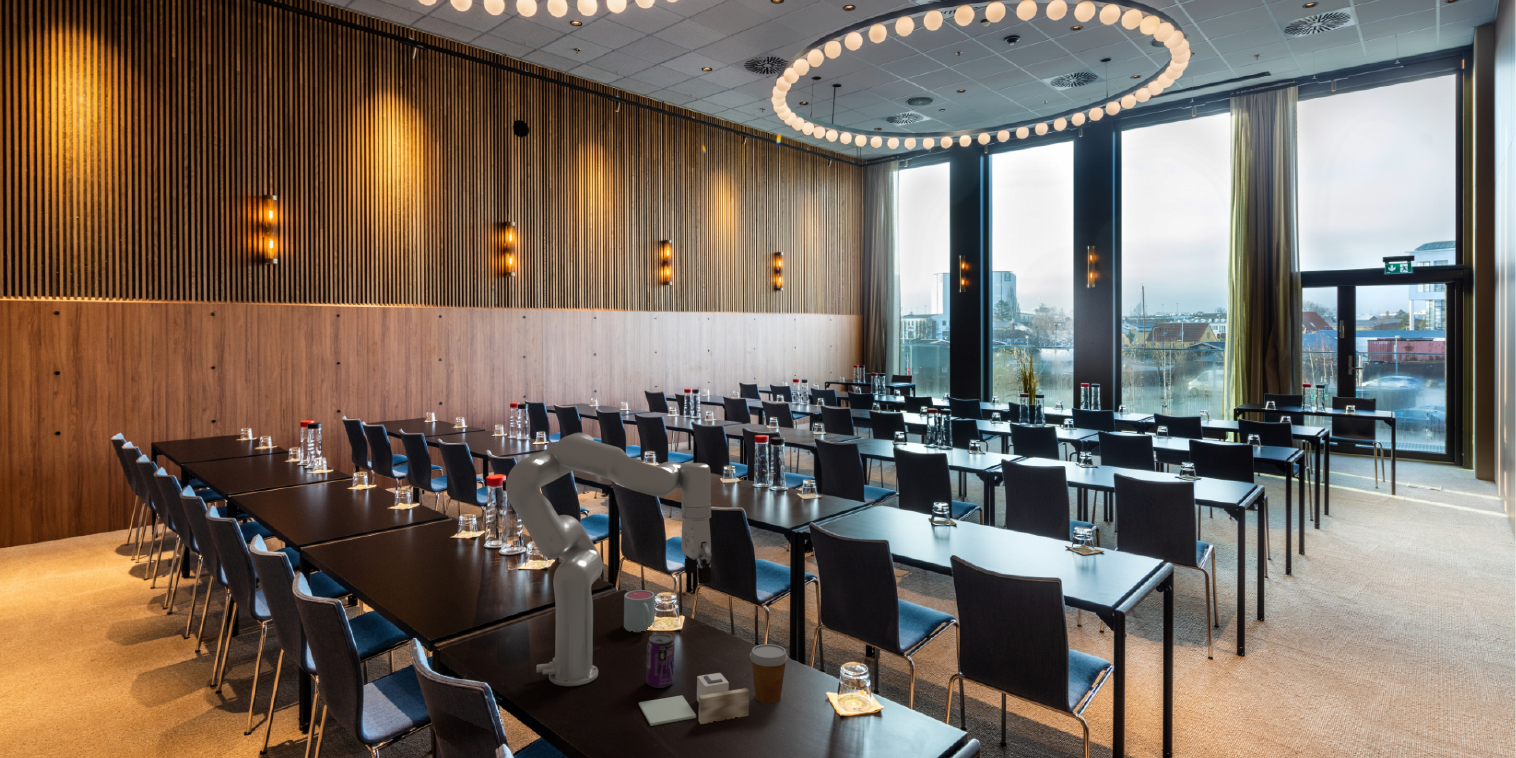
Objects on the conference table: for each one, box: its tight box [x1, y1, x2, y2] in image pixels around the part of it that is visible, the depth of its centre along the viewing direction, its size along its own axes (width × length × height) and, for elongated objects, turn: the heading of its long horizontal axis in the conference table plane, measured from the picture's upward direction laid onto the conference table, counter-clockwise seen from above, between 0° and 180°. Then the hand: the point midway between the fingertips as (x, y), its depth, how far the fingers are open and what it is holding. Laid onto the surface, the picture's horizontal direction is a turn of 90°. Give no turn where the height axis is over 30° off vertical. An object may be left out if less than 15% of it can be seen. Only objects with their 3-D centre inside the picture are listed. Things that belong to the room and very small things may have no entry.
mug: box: [623, 589, 656, 633], centre depth 235 cm, size 14×9×10 cm
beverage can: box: [645, 633, 675, 689], centre depth 198 cm, size 7×7×12 cm
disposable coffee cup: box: [749, 643, 789, 704], centre depth 191 cm, size 10×10×12 cm
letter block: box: [696, 672, 730, 703], centre depth 187 cm, size 6×6×6 cm
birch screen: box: [698, 687, 750, 725], centre depth 180 cm, size 12×2×6 cm, turn 113°
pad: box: [638, 695, 697, 726], centre depth 183 cm, size 11×11×1 cm
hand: (697, 577), depth 197 cm, fingers open, 9 cm apart
